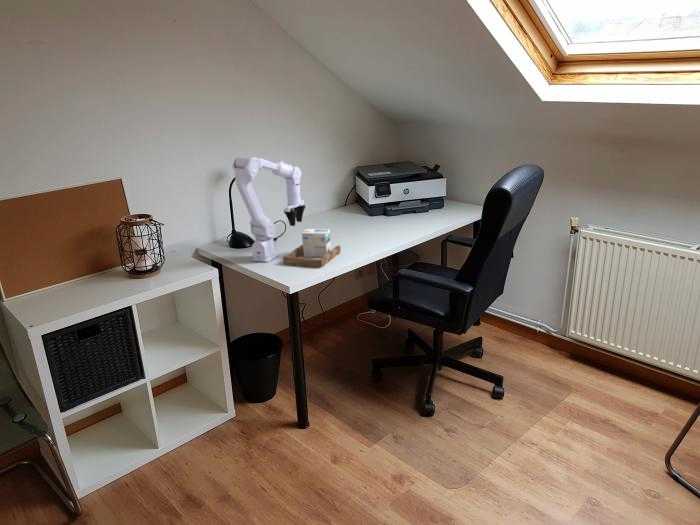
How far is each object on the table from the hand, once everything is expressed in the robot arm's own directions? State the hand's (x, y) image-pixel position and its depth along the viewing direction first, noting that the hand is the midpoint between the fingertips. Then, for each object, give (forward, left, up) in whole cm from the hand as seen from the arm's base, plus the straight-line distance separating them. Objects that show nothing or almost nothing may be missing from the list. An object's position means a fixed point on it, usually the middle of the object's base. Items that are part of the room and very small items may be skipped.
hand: (296, 223), depth 257 cm
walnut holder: (-13, -14, -10) cm, 22 cm away
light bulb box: (-9, -14, -11) cm, 20 cm away
